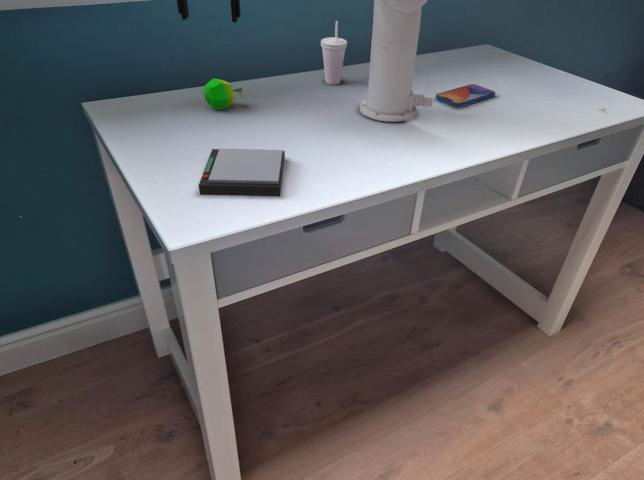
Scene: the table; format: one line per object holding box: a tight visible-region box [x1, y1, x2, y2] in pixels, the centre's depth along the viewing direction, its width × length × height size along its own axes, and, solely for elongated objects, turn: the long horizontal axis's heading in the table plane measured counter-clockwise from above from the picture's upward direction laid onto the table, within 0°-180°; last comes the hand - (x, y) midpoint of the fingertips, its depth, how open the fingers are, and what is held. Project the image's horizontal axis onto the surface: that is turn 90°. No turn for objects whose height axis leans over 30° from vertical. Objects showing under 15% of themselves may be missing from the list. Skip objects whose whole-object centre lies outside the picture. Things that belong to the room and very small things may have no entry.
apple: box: [203, 77, 244, 111], centre depth 108 cm, size 7×6×9 cm
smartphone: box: [435, 83, 496, 108], centre depth 120 cm, size 7×15×1 cm, turn 131°
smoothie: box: [319, 20, 348, 85], centre depth 120 cm, size 6×6×14 cm
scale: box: [198, 147, 286, 198], centre depth 86 cm, size 13×13×2 cm
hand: (210, 19), depth 99 cm, fingers open, 9 cm apart
